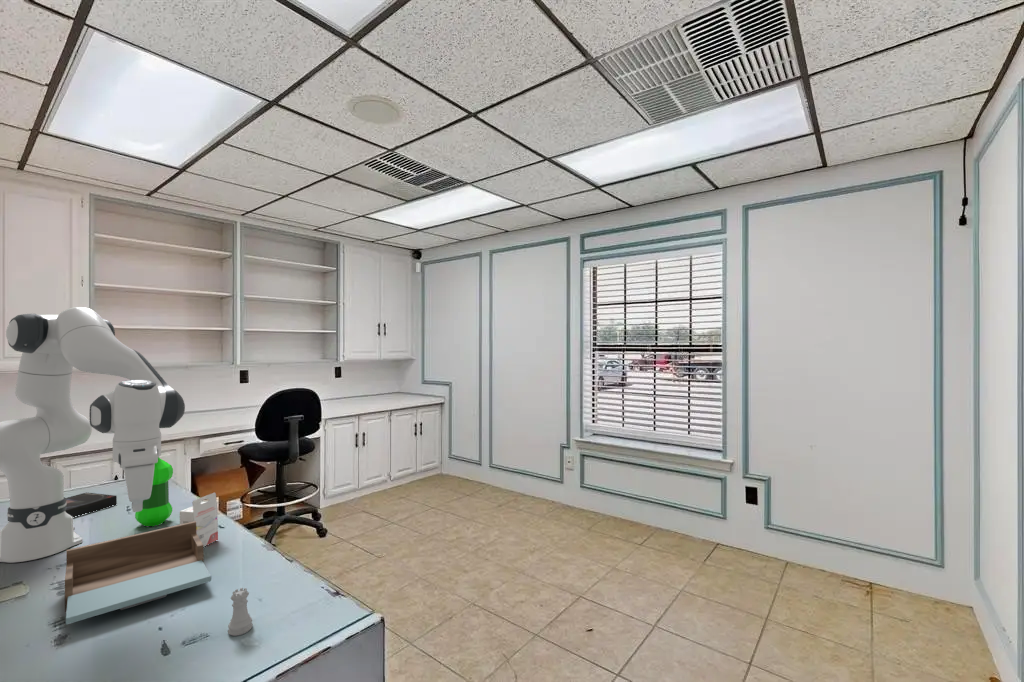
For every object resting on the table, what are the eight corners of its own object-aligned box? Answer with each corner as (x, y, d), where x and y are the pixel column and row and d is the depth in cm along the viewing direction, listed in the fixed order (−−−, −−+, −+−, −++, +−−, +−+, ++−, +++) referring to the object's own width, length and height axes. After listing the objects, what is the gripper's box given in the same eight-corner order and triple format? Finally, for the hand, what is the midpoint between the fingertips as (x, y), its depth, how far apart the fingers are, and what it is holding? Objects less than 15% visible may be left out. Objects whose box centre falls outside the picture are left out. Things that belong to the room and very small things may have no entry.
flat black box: (29, 519, 165) (29, 507, 165) (86, 502, 181) (86, 492, 181) (61, 523, 160) (61, 511, 160) (116, 506, 176) (116, 495, 176)
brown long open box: (67, 591, 113) (66, 549, 113) (196, 557, 131) (195, 521, 131) (65, 612, 104) (64, 566, 104) (203, 572, 122) (203, 533, 122)
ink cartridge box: (204, 539, 142) (203, 491, 143) (218, 540, 142) (217, 491, 142) (179, 552, 134) (178, 500, 134) (194, 553, 133) (193, 501, 133)
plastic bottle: (173, 524, 155) (172, 448, 155) (132, 532, 149) (131, 453, 149) (174, 515, 163) (173, 443, 164) (135, 522, 157) (134, 448, 158)
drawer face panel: (67, 596, 104) (65, 618, 95) (202, 560, 121) (210, 575, 112) (68, 605, 104) (65, 628, 95) (202, 568, 120) (211, 584, 112)
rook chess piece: (234, 624, 98) (233, 586, 98) (256, 623, 99) (256, 584, 99) (223, 637, 94) (222, 597, 94) (246, 636, 94) (245, 596, 94)
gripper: (118, 444, 115) (117, 501, 115) (121, 461, 99) (121, 526, 99) (150, 441, 119) (150, 495, 119) (158, 456, 104) (158, 519, 104)
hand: (137, 510), depth 109 cm, fingers closed
